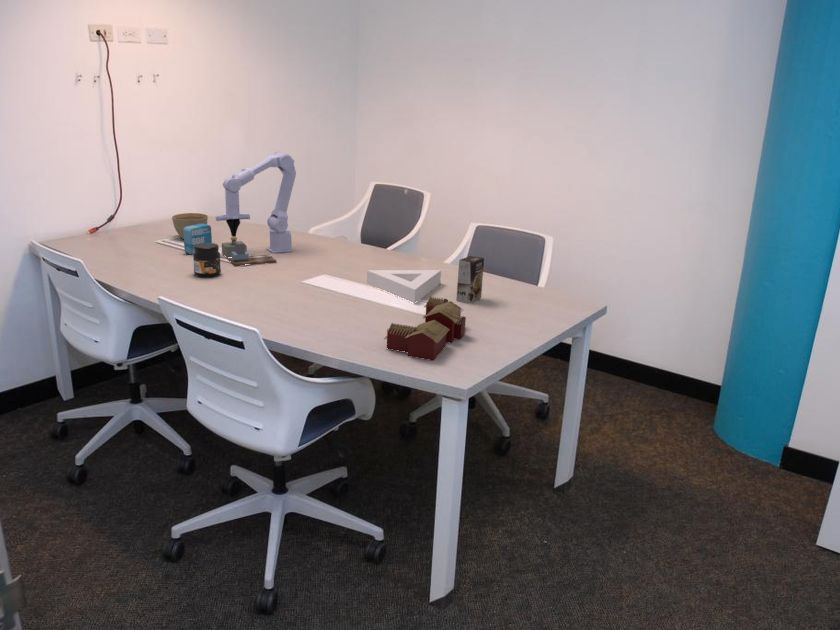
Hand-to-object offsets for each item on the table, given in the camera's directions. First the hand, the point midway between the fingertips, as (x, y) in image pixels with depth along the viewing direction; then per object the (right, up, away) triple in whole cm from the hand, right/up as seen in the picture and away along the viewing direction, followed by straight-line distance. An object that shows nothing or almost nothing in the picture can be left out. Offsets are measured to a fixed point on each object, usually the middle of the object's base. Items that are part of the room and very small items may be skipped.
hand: (233, 236), depth 326 cm
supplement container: (-4, -18, -27) cm, 33 cm away
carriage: (+5, -11, -9) cm, 15 cm away
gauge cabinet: (0, -8, +3) cm, 9 cm away
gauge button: (0, -5, +2) cm, 5 cm away
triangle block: (+73, -25, -34) cm, 84 cm away
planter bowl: (-27, +2, +28) cm, 39 cm away
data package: (-17, -7, +5) cm, 19 cm away
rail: (+10, -12, -6) cm, 16 cm away
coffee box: (+101, -29, -43) cm, 113 cm away
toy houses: (+86, -41, -79) cm, 124 cm away
